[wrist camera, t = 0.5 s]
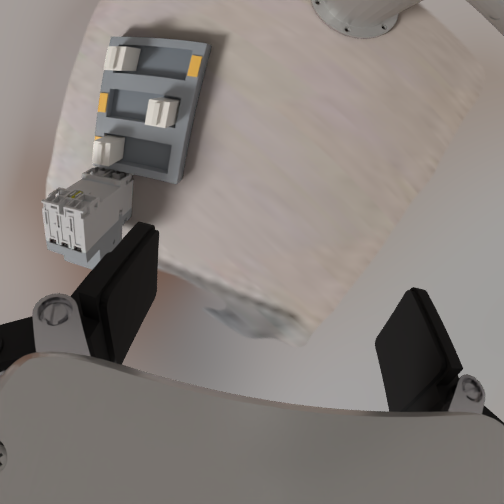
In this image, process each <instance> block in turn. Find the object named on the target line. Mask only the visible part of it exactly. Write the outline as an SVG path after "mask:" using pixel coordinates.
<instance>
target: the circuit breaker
mask: <svg viewBox="0 0 504 504" xmlns="http://www.w3.org/2000/svg"><path fill="white" fill-rule="evenodd" d="M105 169H106V170H105ZM119 172H121V171H117V170H112V169H107V168H103V167H98V166H96V167H95V168H91V169H89V170H88V171H86V172H84V173H82V177H81V178H82V179H81V180H80V181H78V182H76V183H75V184H73V185H72V186H70V187H68V188H67V189H64V188H58V189H56V190H55V191H53V192H51V193H50V194H49V195H48V198H47V199H46V200H42V203H44V207H43V208H42V212H43V220H44V228H45V235H46V242H47V248H48V250H51V251H54V252H57V253H59V254H62V255H64V259H65V261H69V262H71V263H74V264H77V265H81V266H83V267H86V268H90V269H92V270H93V268H94V267H95V266H96V265H97V264H98V262H99V261H100V260H101V259H102V258H103V257H104V256H105V254H107V253H108V252H112V251H113V249H114V248H115V247H116V246H117V245H118V244H119V243H120V241H121V240H122V225H123V224H124V223H125V222H124V221H127V220H128V219H129V218H130V217H131V215H132V195H133V180H132V175H134V174H130V173H126V172H121V173H120V174H119ZM90 173H91V174H90ZM126 174H127V175H126ZM55 194H57V197H56V198H55Z"/></svg>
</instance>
